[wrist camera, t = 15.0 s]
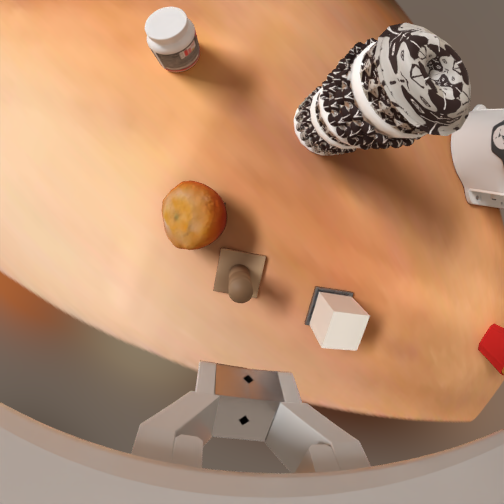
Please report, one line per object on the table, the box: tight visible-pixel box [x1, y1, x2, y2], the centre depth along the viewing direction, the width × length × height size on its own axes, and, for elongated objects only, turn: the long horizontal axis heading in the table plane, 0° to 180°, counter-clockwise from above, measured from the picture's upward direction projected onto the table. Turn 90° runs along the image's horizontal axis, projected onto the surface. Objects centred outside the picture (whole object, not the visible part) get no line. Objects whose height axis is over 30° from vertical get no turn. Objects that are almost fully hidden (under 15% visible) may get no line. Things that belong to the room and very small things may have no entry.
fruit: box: [162, 181, 227, 250], centre depth 36 cm, size 8×8×8 cm
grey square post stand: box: [305, 286, 353, 325], centre depth 40 cm, size 6×6×7 cm
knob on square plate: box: [213, 248, 266, 303], centre depth 37 cm, size 6×6×7 cm
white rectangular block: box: [309, 292, 370, 351], centre depth 39 cm, size 5×5×7 cm
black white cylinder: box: [294, 23, 471, 156], centre depth 25 cm, size 9×9×25 cm
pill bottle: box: [145, 7, 200, 72], centre depth 28 cm, size 6×6×10 cm
